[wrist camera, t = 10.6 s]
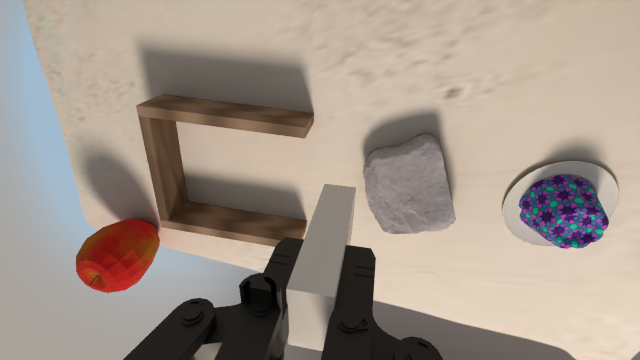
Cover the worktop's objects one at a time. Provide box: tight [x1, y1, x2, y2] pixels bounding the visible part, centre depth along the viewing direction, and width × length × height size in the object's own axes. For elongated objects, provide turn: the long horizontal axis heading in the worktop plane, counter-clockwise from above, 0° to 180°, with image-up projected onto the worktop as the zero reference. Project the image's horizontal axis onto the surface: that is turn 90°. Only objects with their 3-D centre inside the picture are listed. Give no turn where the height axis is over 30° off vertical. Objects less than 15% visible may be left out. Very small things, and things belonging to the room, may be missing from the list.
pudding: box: [502, 161, 619, 249], centre depth 37 cm, size 12×12×5 cm
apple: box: [76, 219, 160, 293], centre depth 47 cm, size 9×9×12 cm
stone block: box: [363, 134, 456, 234], centre depth 40 cm, size 12×5×10 cm
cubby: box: [136, 94, 314, 247], centre depth 41 cm, size 19×17×5 cm
